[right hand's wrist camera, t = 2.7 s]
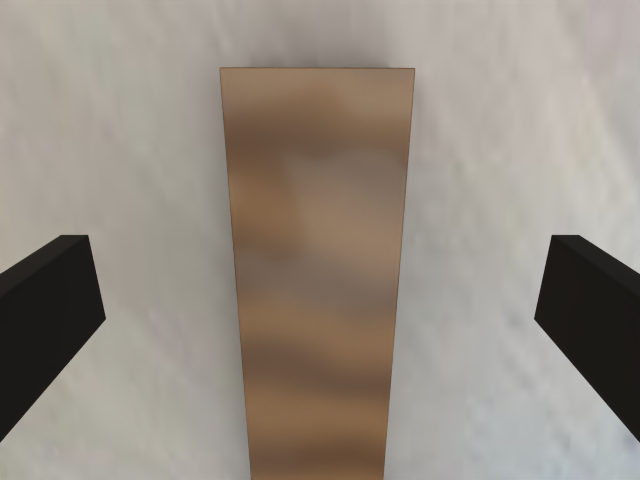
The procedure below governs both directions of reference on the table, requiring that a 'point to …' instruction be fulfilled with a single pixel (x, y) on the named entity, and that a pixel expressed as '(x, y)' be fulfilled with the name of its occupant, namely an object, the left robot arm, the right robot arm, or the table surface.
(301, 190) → the wide beam
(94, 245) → the table surface
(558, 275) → the right robot arm
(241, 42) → the table surface
